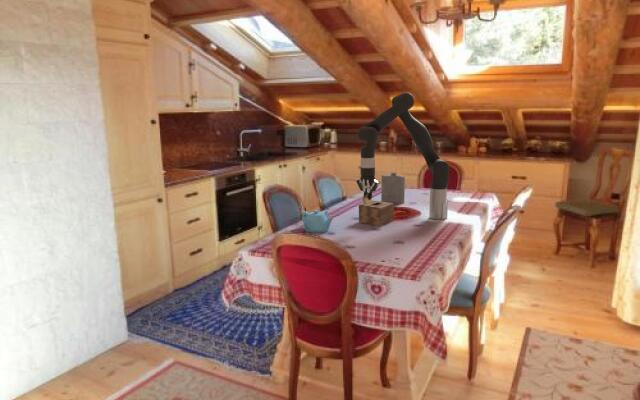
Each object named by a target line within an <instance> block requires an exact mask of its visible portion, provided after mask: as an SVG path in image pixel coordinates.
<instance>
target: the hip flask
mask: <svg viewBox="0 0 640 400" xmlns="http://www.w3.org/2000/svg"><path fill="white" fill-rule="evenodd" d="M405 185H406V176H402V175H398V174H397V171H391V172H390V174H389V175H388V174H387V175H386V174H381V188H380V191H381V192H380V195H381V196H380V198H381V200H380V201H381V202H388V203H394V204H402V205H404V204H405V194H406V193H405V191H406V190H405V188H406V186H405Z"/></svg>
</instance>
